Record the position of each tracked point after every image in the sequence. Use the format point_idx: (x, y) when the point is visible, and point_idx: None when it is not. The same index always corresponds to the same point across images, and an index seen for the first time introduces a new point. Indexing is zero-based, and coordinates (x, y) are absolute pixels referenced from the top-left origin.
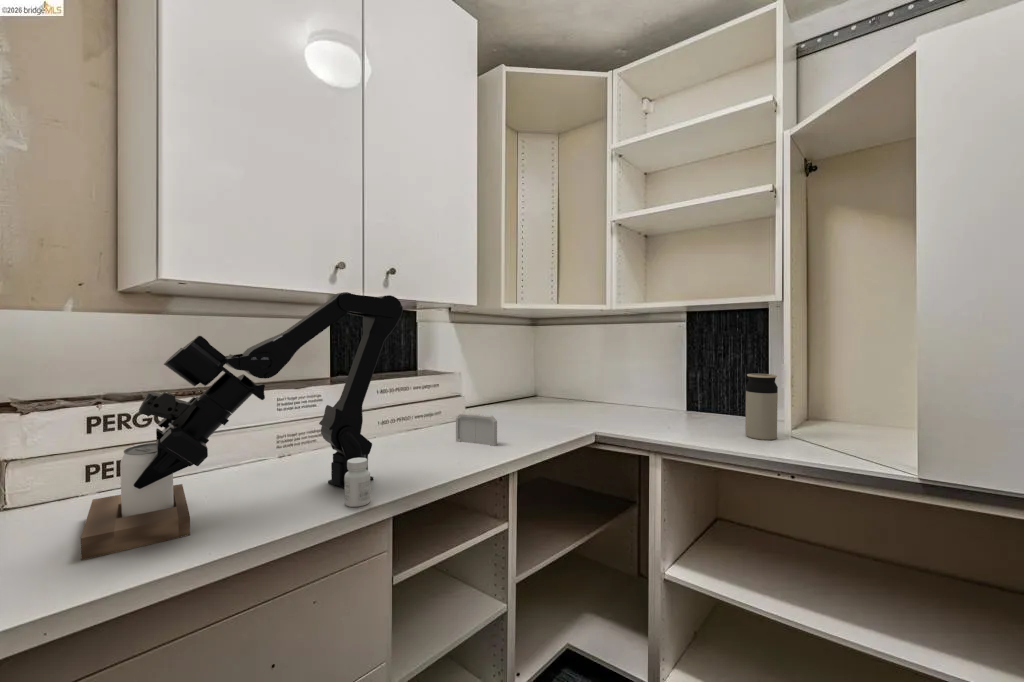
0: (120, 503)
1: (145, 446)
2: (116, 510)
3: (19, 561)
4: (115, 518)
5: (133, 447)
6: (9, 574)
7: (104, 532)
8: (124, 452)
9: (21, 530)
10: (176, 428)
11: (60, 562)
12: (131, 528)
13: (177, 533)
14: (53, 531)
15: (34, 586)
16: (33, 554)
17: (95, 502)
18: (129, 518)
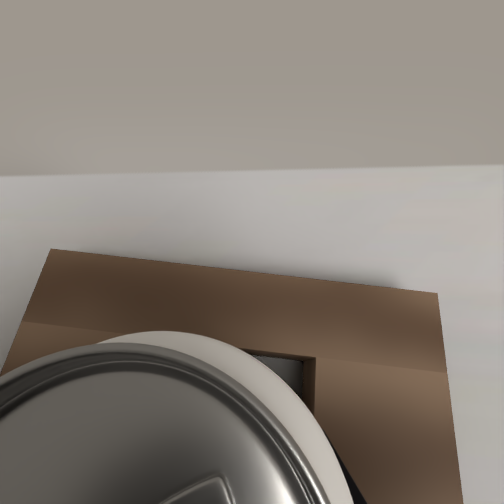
0: (319, 364)
1: None
2: (241, 345)
3: (191, 184)
4: None
5: (292, 471)
6: (132, 174)
7: (36, 298)
8: (80, 347)
9: (402, 184)
10: None
11: (112, 238)
12: (5, 367)
13: None
14: (347, 231)
15: (24, 204)
16: (212, 202)
17: (392, 298)
18: None
